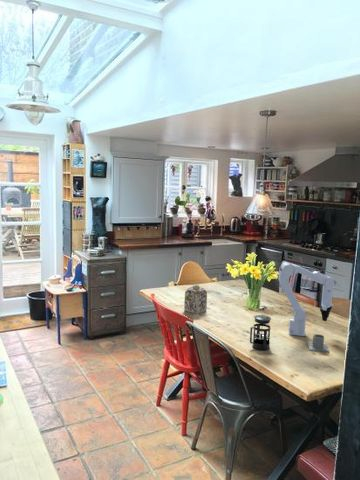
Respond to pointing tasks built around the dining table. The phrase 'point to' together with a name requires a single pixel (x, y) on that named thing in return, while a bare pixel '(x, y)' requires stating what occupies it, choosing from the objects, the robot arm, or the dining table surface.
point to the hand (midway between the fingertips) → (325, 319)
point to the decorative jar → (195, 300)
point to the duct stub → (311, 348)
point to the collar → (318, 341)
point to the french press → (261, 339)
